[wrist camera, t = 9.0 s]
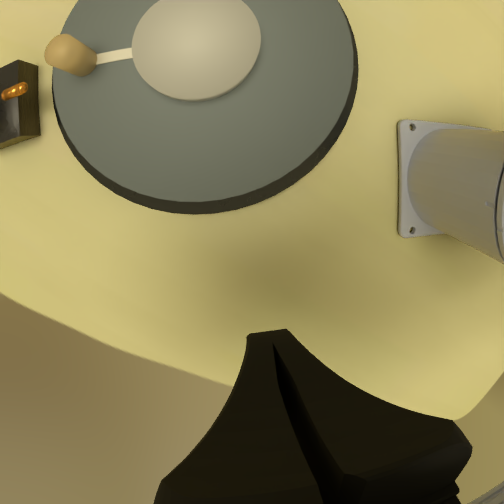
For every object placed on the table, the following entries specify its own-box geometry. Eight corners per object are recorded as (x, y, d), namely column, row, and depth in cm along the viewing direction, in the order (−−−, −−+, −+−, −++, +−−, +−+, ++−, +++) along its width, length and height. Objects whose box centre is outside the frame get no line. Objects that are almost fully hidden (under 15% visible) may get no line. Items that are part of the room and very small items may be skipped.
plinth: (328, -50, 14) (335, -60, 12) (357, 195, 20) (367, 199, 18) (67, -20, 13) (58, -27, 11) (79, 226, 19) (70, 232, 17)
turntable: (77, -31, 11) (49, -61, 7) (333, -47, 13) (357, -81, 8) (69, 207, 17) (31, 227, 12) (344, 193, 18) (379, 210, 14)
